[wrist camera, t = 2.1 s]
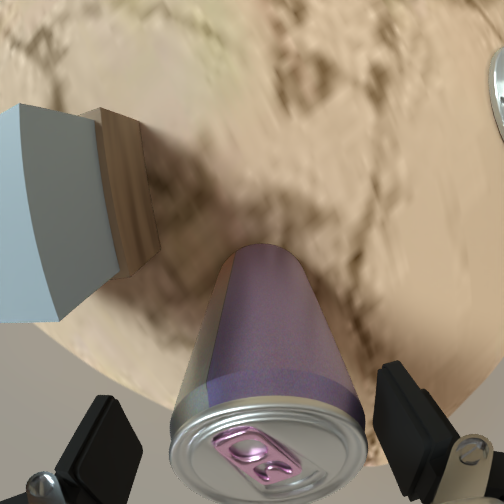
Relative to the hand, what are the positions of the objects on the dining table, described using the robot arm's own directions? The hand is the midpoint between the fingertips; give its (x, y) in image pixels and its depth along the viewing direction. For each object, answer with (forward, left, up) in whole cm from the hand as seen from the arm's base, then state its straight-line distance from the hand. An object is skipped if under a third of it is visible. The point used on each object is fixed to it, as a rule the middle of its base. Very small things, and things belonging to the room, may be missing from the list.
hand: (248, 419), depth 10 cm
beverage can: (-1, 0, -13) cm, 13 cm away
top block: (+10, -8, -7) cm, 15 cm away
